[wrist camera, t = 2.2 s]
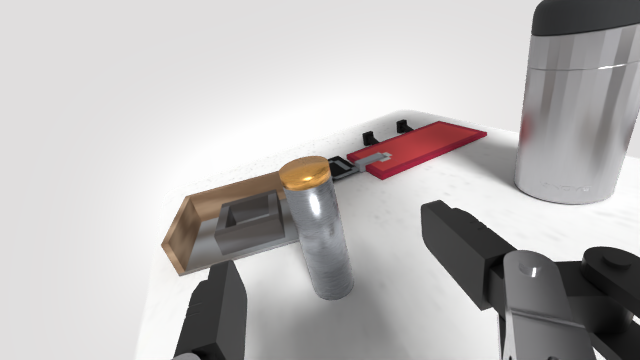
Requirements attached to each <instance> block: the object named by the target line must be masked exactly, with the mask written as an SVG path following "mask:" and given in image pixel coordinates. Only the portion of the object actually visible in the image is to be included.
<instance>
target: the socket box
mask: <svg viewBox="0 0 640 360" xmlns="http://www.w3.org/2000/svg"><path fill="white" fill-rule="evenodd" d="M298 241H300V240H299V237H298V234H297V231H296V227H295V224H294V221H293V218H292V214H291V211H290V208H289V205H288V202H287V198H286V195H285V192H284V189H283V185H282V182H281V179H280V176H279V171H276V172H273V173H269V174H265V175H262V176H258V177H254V178H251V179H247V180H243V181H240V182H236V183H233V184H229V185H225V186H222V187H218V188H214V189H211V190H207V191H203V192H200V193H196V194H192V195H189V196H186V197H185V199H184V201H183V203H182V205H181V207H180V209H179V211H178V212H177V214H176V216H175V218H174V220H173V222H172V224H171V226H170V228H169V230H168V232H167V234H166V236H165V238H164V240H163V242H162V244H161V246H162V248H163V249H164V251H165V253H166V254H167V256H168V258H169V259H170V261H171V263H172V264H173V266H174V268H175V269H176V271H177V273H178V274H179V276H183V275H186V274H189V273H193V272H196V271H200V270H203V269H206V268H210V267H211V265H213V264H216V263H220V262H223V261H226V260H230V259H231V260H232V261H233V260H237V259H240V258H244V257H247V256H250V255H254V254H257V253H260V252H264V251H267V250H271V249H274V248H277V247H281V246H284V245H287V244H291V243H294V242H298Z"/></svg>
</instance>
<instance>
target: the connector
mask: <svg viewBox="0 0 640 360" xmlns="http://www.w3.org/2000/svg"><path fill="white" fill-rule="evenodd" d="M279 176H280V179H281V182H282V185H283V189H284V192H285V195H286V198H287V202H288V205H289V208H290V211H291V214H292V218H293V221H294V224H295V227H296V231H297V234H298V237H299V240H300V243H301V247H302V250H303V253H304V256H305V260H306V263H307V266H308V269H309V273H310V276H311V279H312V282H313V285H314V289H315V292H316V293H317V295H318V296H320V297H321V298H323V299H326V300H337V299H340V298H342V297H344V296H346V295H347V294H348V293H349V292H350V291H351V290H352V288H353V285H354V278H353V274H352V269H351V265H350V260H349V255H348V251H347V246H346V241H345V237H344V232H343V227H342V223H341V218H340V214H339V209H338V204H337V200H336V195H335V190H334V186H333V181H332V177H331V172H330V167H329V163H328V160H327V159H326V158H324V157H321V156H308V157H303V158H299V159H296V160H293V161H291V162H289V163H287V164H285V165H284V166H283V167H282V168H281V169H280V170H279Z"/></svg>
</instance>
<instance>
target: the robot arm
mask: <svg viewBox="0 0 640 360" xmlns="http://www.w3.org/2000/svg"><path fill="white" fill-rule="evenodd" d="M531 33H532V35H531V40H530V48H529V58H528V67H527V75H526V84H525V93H524V101H523V110H522V118H521V127H520V135H519V144H518V151H517V160H516V169H515V178H514V182H515V184H516V186H517V187H518V188H519V189H520V190H522V191H523V192H525V193H527V194H529V195H531V196H533V197H536V198H539V199H543V200H547V201H551V202H557V203H565V204H588V203H595V202H599V201H603V200H605V199H607V198H609V197H610V196H611V195H612V194H613V192H614V189H615V186H616V183H617V180H618V176H619V173H620V170H621V167H622V164H623V161H624V158H625V155H626V151H627V148H628V145H629V141H630V138H631V135H632V132H633V129H634V125H635V122H636V119H637V116H638V112H639V109H640V0H543V1H542V2H541V3H540V4H539V5H538V6H537V7H536V9H535V12H534V16H533V23H532V31H531ZM421 224H422V237H423V240H424V243H425V245H426V247H427V248H428V249H429V250H430V252H431V253H432V254H433V255H434V256H435V258H436V259H437V260H438V261H439V262H440V263H441V265H442V266H443V267H444V268H445V269H446V270H447V272H448V273H449V274H450V275H451V276H452V277H453V279H454V280H455V281H456V282H457V283H458V284H459V286H460V287H461V288H462V289H463V290H464V291H465V293H466V294H467V295H468V296H469V297H470V298H471V300H472V301H473V302H474V303H475V304H476V305H477V307H478V308H479V309H480V310H481V311H482V310H485V309H488V308H491V307H493V308H494V309H495V310H496V311H497V312H498V315H497V324H498V342H499V360H596V357H595V353H594V350H593V347H594V348H595V349H596V350H597V351H598V352H599V353H600V354H601V355H602V356H603V357H604V358H605V359H606V360H640V325H638V324H637V323H636V322H635V321H633V320H632V319H633V316H634V315H636V316H637V317H638V318H640V257H638V256H636V255H634V254H632V253H629V252H627V251H624V250H621V249H617V248H612V247H601V246H600V247H592V248H589V249H587V250H586V251H585V252H584V255H583V259H582V261H565V262H553V261H552V260H551V259H549V258H548V257H546V256H544V255H542V254H539V253H537V252H533V251H527V250H517V249H516V248H514V247H513V246H512V245H510V244H509V243H508V242H507V241H505V240H504V239H503V238H501V237H500V236H499V235H497V234H496V233H495V232H493V231H492V230H491V229H489V228H487V227H486V225H484V224H483V223H482V222H479V221H478V219H476V218H475V217H474V216H472V215H471V214H470V213H468V212H466V211H463V210H461V209H458V208H453V209H451V208H450V207H449V206H448V205H447V204H445V203H444V202H443V201H441V200H437V201H433V202H430V203H426V204H423V205H422V206H421ZM246 317H247V294H246V290H245V287H244V284H243V282H242V280H241V278H240V275H239V273H238V271H237V269H236V266H235V264H234V262H233V261H232V260H231V259H230V260H226V261H223V262H220V263H216V264H213V265H211V267H210V271H209V276H208V280H204V281H201V282H200V283H199V284H198V286H197V287H196V289H195V290H194V291H193V293H192V295H191V299H190V302H189V308H188V309H187V313H186V318H185V319H184V323H183V326H182V330H181V333H180V337H179V340H178V344H177V347H176V350H175V354H174V357H173V359H172V360H244V351H245V334H246ZM592 346H593V347H592Z"/></svg>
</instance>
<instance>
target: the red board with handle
mask: <svg viewBox="0 0 640 360" xmlns="http://www.w3.org/2000/svg"><path fill="white" fill-rule="evenodd" d="M402 132H406V133H405V134H402V135H399V136H396V137H394V138H391V139H388V140H385V141H383V142H378V141H377V140H376V139H375V138H374V137H373V132H372V131H369V132H366V133H363V141H364V145H365V146H368V145H372V146H369V147H366V148H364V149H361V150H358V151H355V152H353V153H350V154H347V159H348V160H349V161H351V162H353V163H354V164H355V166H354V165H352V164H350V163H349V162H347V161H346V160H344V159H342V158H341V157H339V156H336V157H333V158H330V159H328V163H329V167H330V172H331V177H332V181H334V180H336V179H339V178H341V177H344V176H347V175H349V174H352V173H354V172H357V171H359V172H361V173H362V172H364V171H367V172H369V173H371V174H372V175H374V176H376V177H377V178H379V179H381V180H384V179H386V178H388V177H391V176H393V175H395V174H398V173H400V172H403V171H405V170H407V169H410V168H412V167H414V166H417V165H419V164H421V163H424V162H426V161H428V160H431V159H433V158H435V157H438V156H440V155H442V154H445V153H447V152H449V151H452V150H454V149H456V148H459V147H461V146H463V145H466V144H468V143H471V142H473V141H475V140H478V139H480V138H482V137H485V136H487V132H483V131H479V130H475V129H471V128H467V127H462V126H458V125H454V124H450V123H446V122H441V121H437V122H435V123H432V124H429V125H426V126H424V127H421V128H418V129H416V130H413V129H412V128H410V127H409V126H407V120H401V121H398V122H397V133H402Z"/></svg>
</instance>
